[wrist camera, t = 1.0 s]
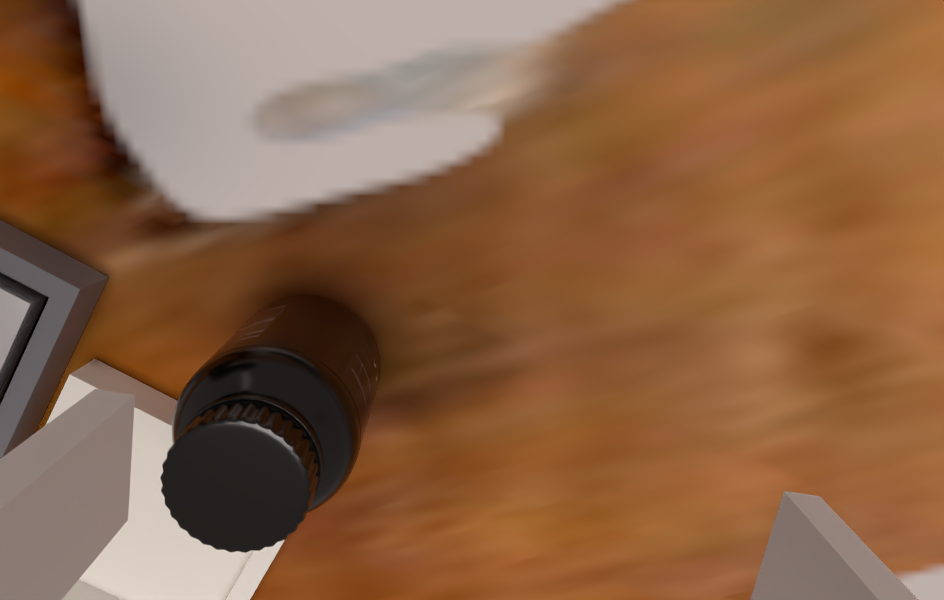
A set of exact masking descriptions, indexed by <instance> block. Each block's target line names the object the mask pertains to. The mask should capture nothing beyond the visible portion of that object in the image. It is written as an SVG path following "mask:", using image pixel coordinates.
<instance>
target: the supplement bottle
mask: <svg viewBox="0 0 944 600" xmlns="http://www.w3.org/2000/svg"><path fill="white" fill-rule="evenodd" d="M379 373H380V360H379V353H378V349H377V346H376V343H375V341H374V339H373V336H372V335H371V333H370V331H369V329H368V328H367V327H366V325H365V324H364V323H363V322H362V321H361V320H360V318H358V317H357V316H356V315H355V314H354V313H353V312H351V311H350V310H349V309H347V308H346V307H344V306H342V305H340V304H338V303H336V302H334V301H331V300H328V299H325V298H321V297H316V296H294V297H288V298H285V299H281V300H278V301H276V302H274V303H272V304H270V305H268V306H266V307H265V308H263V309H262V310H260V311H259V312H258V313H257V314H255V315H254V316H253V317H252V318H251V319H250V320H249V321H248V322H247V323H246V324H245V325H244V326H243V327H242V328H241V329H239V330H238V331H237V332H236V333H235V334H234V335H233V336H232V337H231V338H230V339H229V340H228V341H227V342H226V343H225V344H224V345H223V346H222V347H221V348H220V349H219V350H218V351H217V352H216V353H215V354H214V355H213V356H212V357H211V358H210V359H209V360H208V361H207V362H206V363H205V364H204V365H203V366H202V367H201V368H200V369H199V370H198V371H197V372H196V373H195V374H194V376H193V377H192V378H191V379H190V381H189V382H188V383H187V385H186V386H185V388H184V389H183V391H182V392H181V395H180V397H179V399H178V401H177V404H176V407H175V410H174V415H173V420H172V441H173V445H172V446H171V447H170V448H169V450H168V452H167V458H166V459H165V461H164V462H163V464H162V466H163V473H162V475H161V477H160V479H161V482H162V489H161V492H162V494H163V496H164V497H165V505H166V506H167V508H168V509H169V510H170V514H171V517H172V518H174V519H175V520H176V521H177V522H178V525H179V527H180V528H182V529H184V530H186V531H187V532H188V534H189V535H190V536H191V537H193V538H196V539H198V540H199V541H200V542H201V543H202V544H205V545H211V546H212V547H213V548H215V549H216V550H226V551H228V552H236V551H239V552H244V553H246V552H249V551H251V550H254V551H260V550H262V549H263V548H265V547H272V546H274V545H275V544H276V543H277V542H279V541H283V540H285V539H286V538H287V536H288V534H290V533H293V532H294V531H295V530H296V529H297V527H298V524H300V523H301V522H302V521H303V520H304V519H305V517H306V514H307V513H308V512H310V511H312V510H314V509H316V508H318V507H319V506H321V505H323V504H324V503H325V502H327V501H328V500H329V499H331V498H332V497H333V496H334V495H335V494H336V493H337V492H338V491H339V489H340V488H341V487H342V486H343V485H344V483H345V482H346V480H347V479H348V477H349V475H350V473H351V471H352V469H353V467H354V464H355V462H356V459H357V456H358V453H359V449H360V446H361V442H362V439H363V435H364V432H365V428H366V425H367V421H368V418H369V414H370V411H371V407H372V404H373V400H374V397H375V393H376V390H377V385H378V381H379Z"/></svg>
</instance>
